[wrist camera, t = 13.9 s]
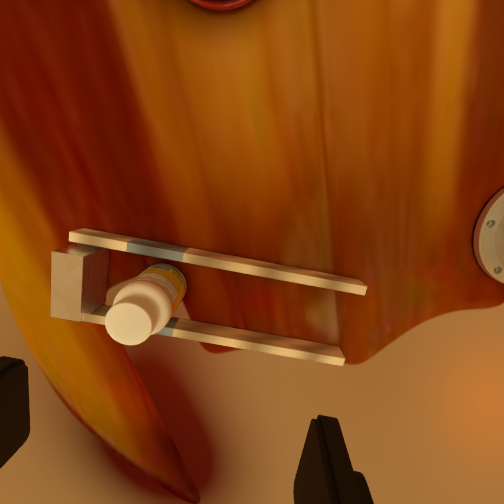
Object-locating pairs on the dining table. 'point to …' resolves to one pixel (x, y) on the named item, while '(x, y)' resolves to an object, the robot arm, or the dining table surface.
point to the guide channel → (94, 295)
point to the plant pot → (220, 4)
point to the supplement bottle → (145, 304)
